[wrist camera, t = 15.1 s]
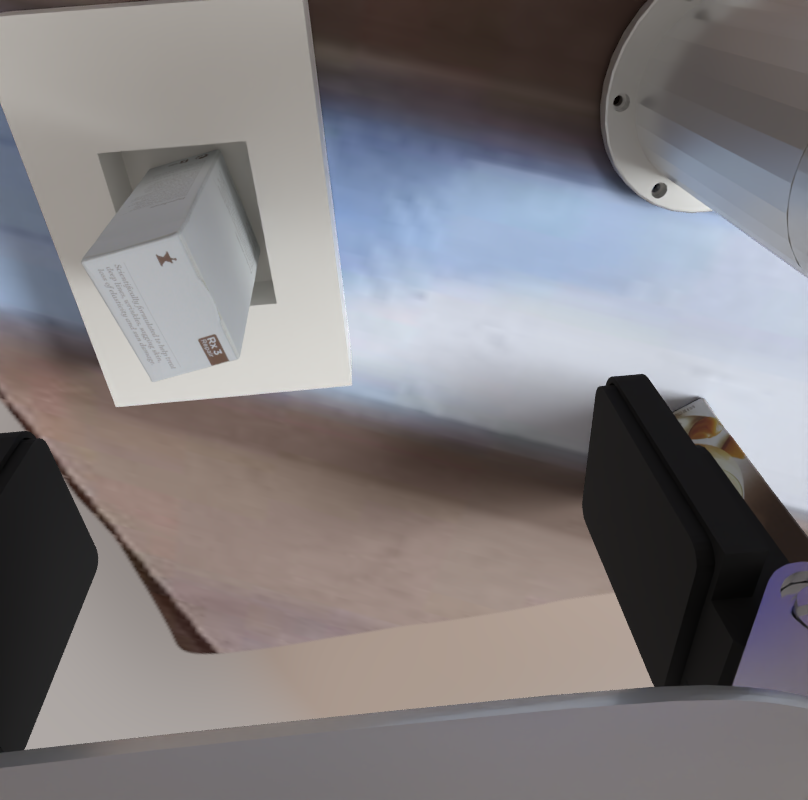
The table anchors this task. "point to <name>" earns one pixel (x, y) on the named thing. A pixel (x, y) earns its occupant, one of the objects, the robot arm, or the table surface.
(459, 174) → the table surface
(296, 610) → the table surface
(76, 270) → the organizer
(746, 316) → the table surface
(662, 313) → the table surface
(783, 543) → the coffee box
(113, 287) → the skincare box
